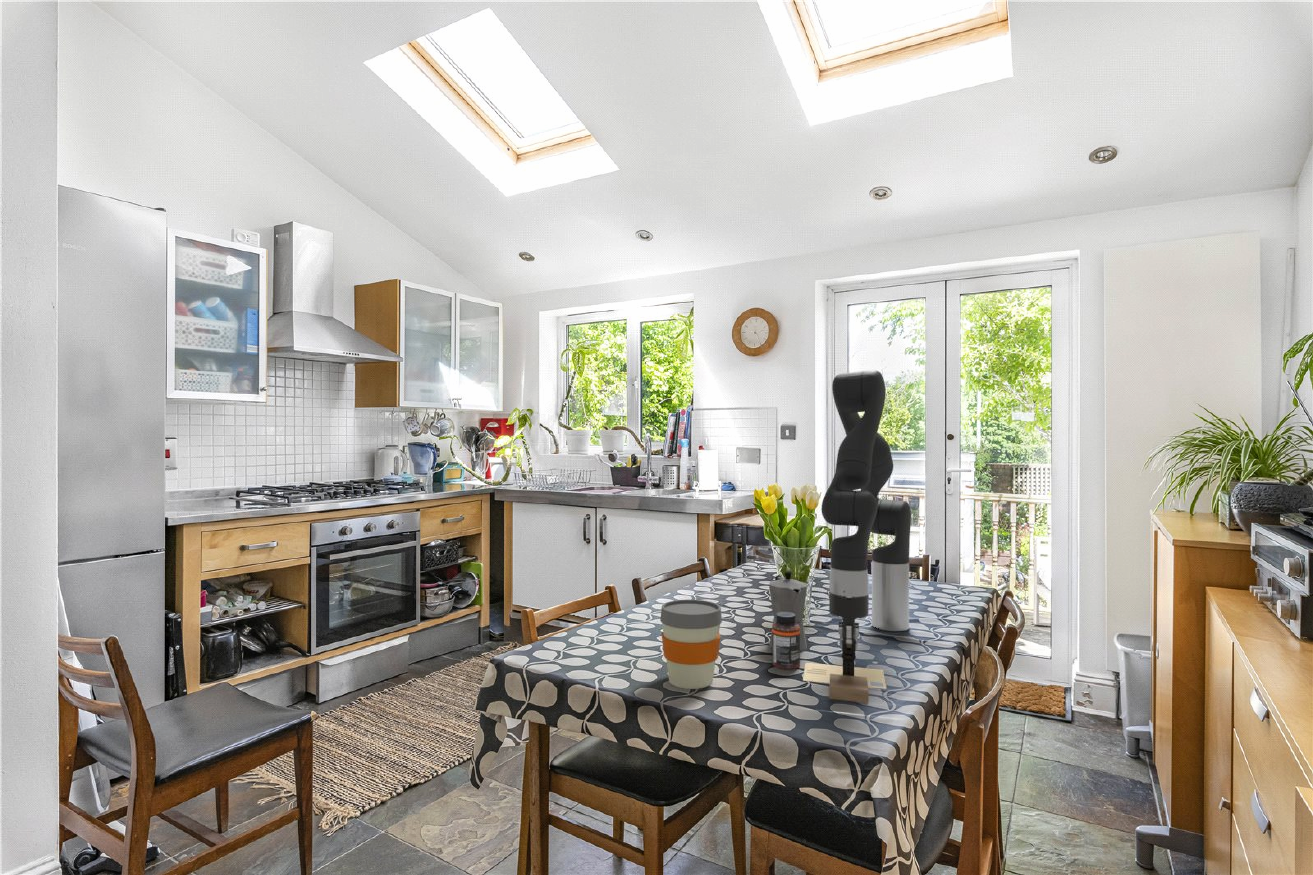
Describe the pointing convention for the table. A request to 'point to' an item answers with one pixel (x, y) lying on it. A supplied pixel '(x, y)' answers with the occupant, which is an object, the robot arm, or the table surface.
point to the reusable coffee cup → (691, 641)
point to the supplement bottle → (786, 641)
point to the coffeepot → (789, 601)
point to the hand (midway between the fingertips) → (848, 677)
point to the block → (848, 688)
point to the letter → (823, 674)
